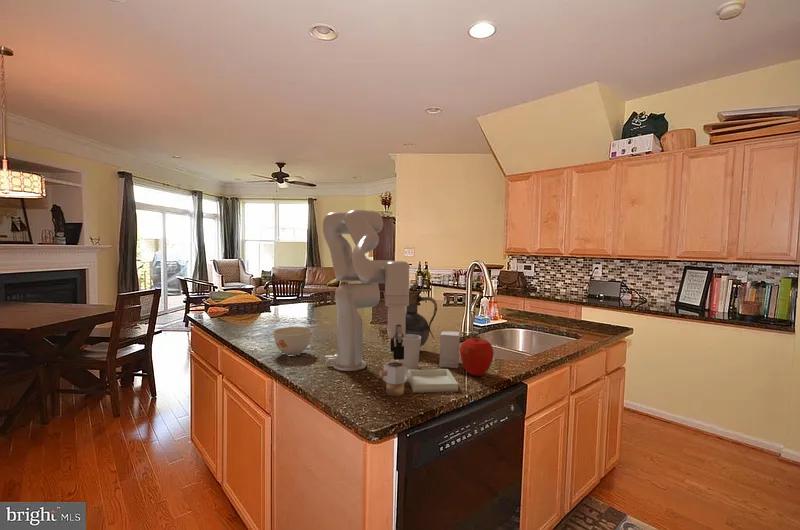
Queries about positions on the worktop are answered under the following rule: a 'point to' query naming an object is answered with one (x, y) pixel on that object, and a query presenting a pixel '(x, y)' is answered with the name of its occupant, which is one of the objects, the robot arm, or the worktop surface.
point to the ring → (394, 373)
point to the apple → (476, 356)
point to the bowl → (292, 339)
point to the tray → (432, 380)
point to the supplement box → (449, 349)
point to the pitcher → (417, 315)
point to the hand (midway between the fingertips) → (397, 355)
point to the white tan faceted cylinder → (395, 386)
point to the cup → (411, 351)
